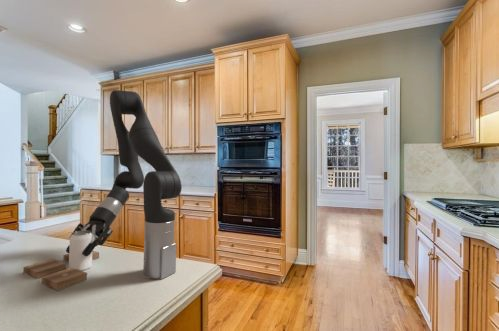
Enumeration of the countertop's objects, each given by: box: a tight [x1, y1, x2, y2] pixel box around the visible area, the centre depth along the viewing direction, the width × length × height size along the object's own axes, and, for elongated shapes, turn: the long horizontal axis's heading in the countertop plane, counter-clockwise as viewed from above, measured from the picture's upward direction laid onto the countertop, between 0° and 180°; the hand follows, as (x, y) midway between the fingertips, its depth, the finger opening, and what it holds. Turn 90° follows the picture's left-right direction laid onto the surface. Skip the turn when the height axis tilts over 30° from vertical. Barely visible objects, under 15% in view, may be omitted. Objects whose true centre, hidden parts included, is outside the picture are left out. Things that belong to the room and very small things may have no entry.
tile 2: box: [22, 258, 67, 280], centre depth 82 cm, size 8×8×2 cm
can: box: [68, 230, 93, 272], centre depth 85 cm, size 6×6×12 cm
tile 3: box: [62, 250, 100, 263], centre depth 93 cm, size 8×8×2 cm
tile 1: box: [41, 267, 88, 291], centre depth 75 cm, size 8×8×2 cm
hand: (76, 253), depth 84 cm, fingers closed on can, 6 cm apart
